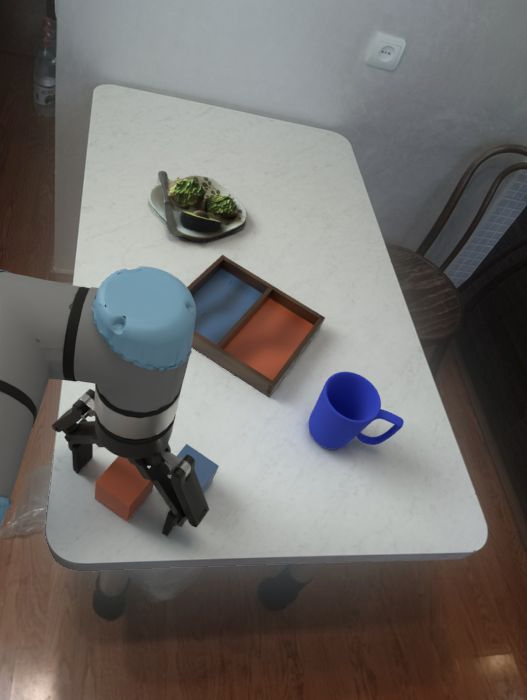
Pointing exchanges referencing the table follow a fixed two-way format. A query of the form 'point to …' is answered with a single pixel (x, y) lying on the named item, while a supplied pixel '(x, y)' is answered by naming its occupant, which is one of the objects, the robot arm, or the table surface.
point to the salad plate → (197, 208)
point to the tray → (249, 324)
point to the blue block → (201, 466)
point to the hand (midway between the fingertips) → (126, 494)
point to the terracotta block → (122, 488)
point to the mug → (348, 412)
